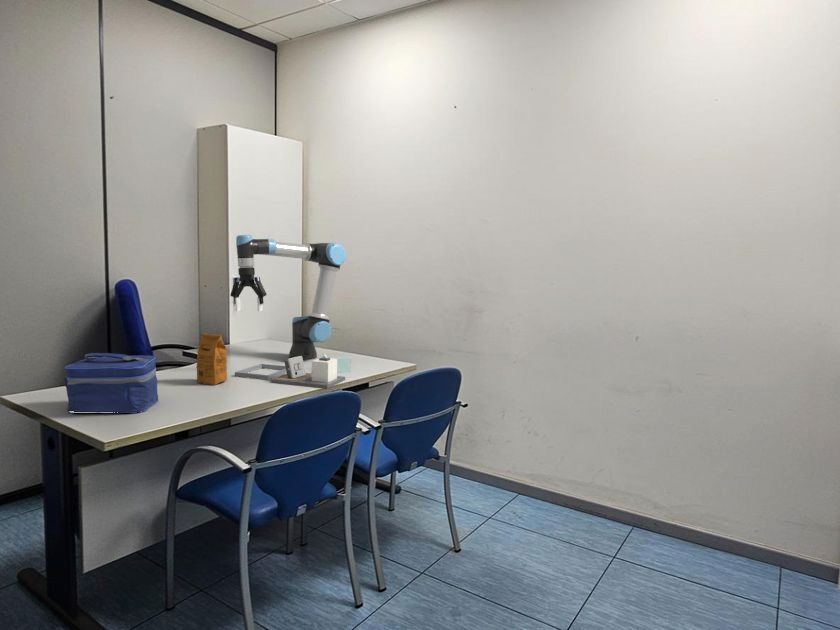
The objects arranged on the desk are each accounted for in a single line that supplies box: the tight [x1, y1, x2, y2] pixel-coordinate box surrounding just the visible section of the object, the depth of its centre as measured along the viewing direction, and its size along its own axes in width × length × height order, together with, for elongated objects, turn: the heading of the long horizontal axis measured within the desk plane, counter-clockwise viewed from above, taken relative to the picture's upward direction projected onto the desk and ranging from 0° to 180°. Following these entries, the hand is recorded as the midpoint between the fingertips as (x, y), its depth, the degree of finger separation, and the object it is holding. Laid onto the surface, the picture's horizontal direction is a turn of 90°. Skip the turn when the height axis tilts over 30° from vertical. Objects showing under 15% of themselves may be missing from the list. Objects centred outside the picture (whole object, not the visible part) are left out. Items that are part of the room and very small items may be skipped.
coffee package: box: [196, 332, 228, 386], centre depth 250 cm, size 10×12×22 cm
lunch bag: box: [63, 352, 159, 414], centre depth 208 cm, size 31×21×20 cm
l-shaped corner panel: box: [322, 353, 352, 374], centre depth 282 cm, size 12×12×8 cm
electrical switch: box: [283, 356, 307, 379], centre depth 260 cm, size 9×5×9 cm, turn 151°
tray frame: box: [234, 363, 289, 381], centre depth 272 cm, size 22×18×2 cm
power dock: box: [270, 356, 346, 389], centre depth 257 cm, size 18×28×11 cm, turn 72°
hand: (249, 310), depth 275 cm, fingers open, 13 cm apart
